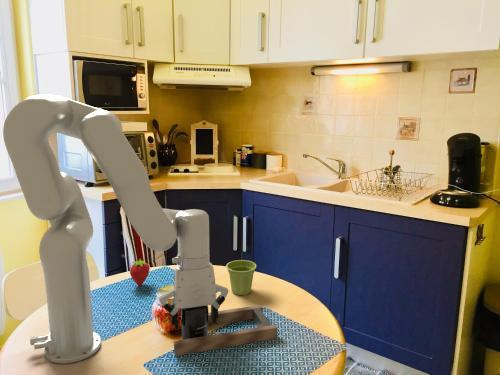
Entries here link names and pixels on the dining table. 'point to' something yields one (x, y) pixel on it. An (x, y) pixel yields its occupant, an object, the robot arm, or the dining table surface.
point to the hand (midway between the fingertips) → (195, 324)
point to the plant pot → (241, 276)
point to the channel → (230, 338)
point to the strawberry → (139, 272)
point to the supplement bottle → (194, 322)
